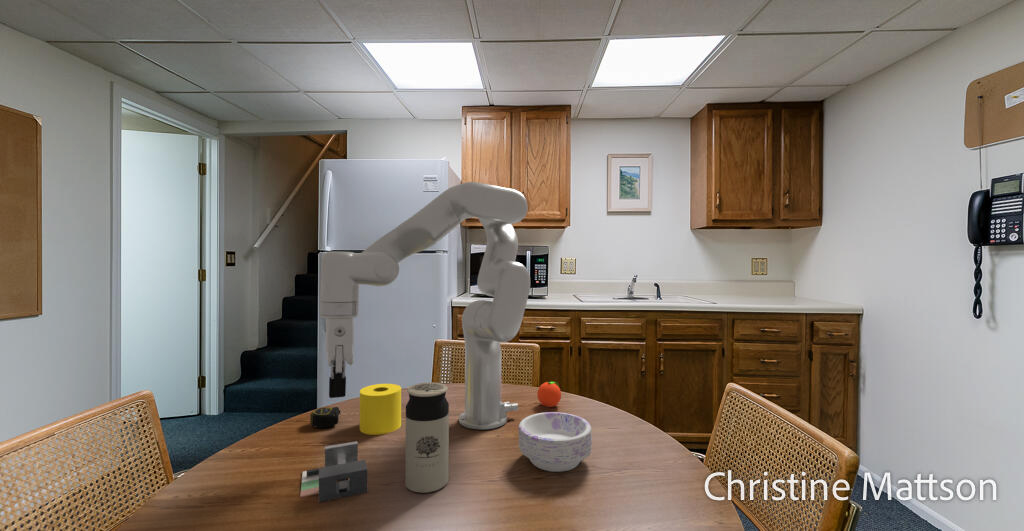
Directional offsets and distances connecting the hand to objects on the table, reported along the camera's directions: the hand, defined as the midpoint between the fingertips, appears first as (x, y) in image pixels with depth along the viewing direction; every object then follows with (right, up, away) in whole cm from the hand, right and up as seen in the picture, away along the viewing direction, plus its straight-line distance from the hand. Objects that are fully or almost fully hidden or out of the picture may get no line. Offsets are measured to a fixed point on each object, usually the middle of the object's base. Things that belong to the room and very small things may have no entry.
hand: (337, 396), depth 89 cm
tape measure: (-10, -13, +19) cm, 25 cm away
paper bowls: (+46, -14, -1) cm, 48 cm away
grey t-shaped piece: (+4, -13, -10) cm, 17 cm away
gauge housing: (+6, -13, -13) cm, 20 cm away
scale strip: (-1, -13, -9) cm, 16 cm away
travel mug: (+21, -14, -9) cm, 27 cm away
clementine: (+48, -13, +33) cm, 60 cm away
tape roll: (+4, -13, +17) cm, 22 cm away
